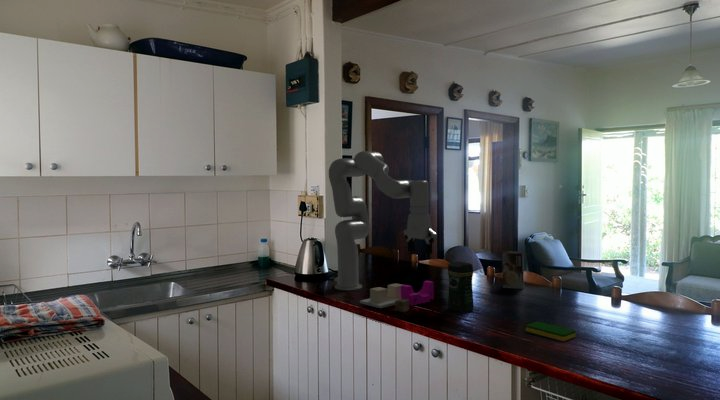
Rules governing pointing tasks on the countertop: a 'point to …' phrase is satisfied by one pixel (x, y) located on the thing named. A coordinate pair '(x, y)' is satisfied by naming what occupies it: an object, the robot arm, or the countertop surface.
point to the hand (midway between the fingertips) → (420, 252)
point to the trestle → (383, 296)
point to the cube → (402, 305)
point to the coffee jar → (460, 286)
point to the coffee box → (513, 270)
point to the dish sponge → (551, 331)
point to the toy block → (419, 297)
